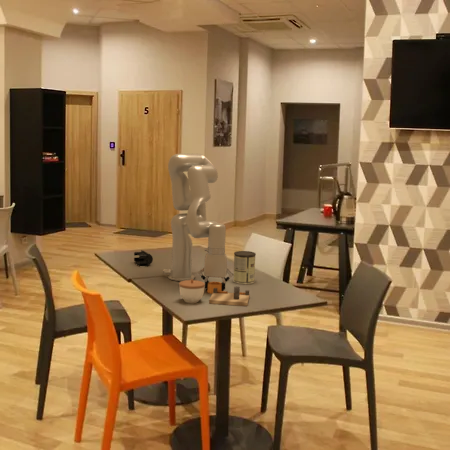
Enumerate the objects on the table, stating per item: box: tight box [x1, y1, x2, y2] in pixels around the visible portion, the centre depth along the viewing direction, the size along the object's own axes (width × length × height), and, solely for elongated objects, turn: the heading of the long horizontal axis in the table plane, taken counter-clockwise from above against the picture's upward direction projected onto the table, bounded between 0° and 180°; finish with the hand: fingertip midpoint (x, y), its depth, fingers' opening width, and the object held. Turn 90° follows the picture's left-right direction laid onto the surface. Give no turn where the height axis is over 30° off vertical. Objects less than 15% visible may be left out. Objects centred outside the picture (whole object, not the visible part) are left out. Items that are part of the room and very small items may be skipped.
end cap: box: [133, 249, 154, 267], centre depth 335 cm, size 10×7×7 cm
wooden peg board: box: [208, 286, 251, 307], centre depth 272 cm, size 16×14×6 cm
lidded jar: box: [178, 279, 205, 304], centre depth 269 cm, size 11×11×9 cm
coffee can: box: [233, 250, 256, 285], centre depth 306 cm, size 10×10×14 cm
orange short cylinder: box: [206, 281, 222, 295], centre depth 285 cm, size 6×6×4 cm
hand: (214, 290), depth 285 cm, fingers closed on orange short cylinder, 6 cm apart
